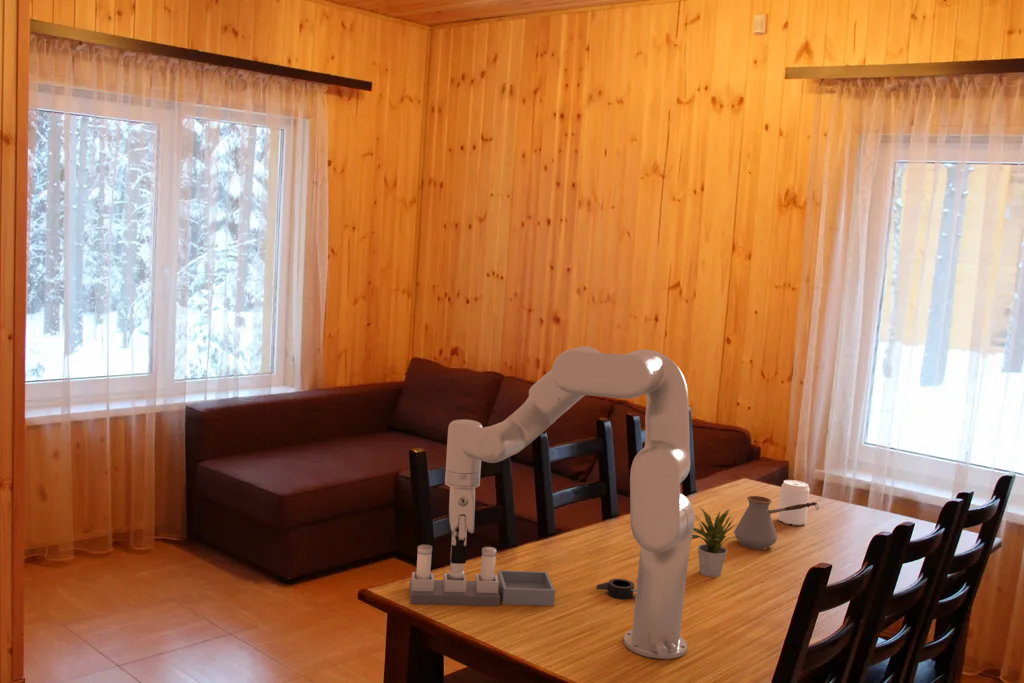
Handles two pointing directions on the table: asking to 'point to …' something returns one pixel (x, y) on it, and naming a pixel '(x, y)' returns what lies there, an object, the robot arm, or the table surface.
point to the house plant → (712, 544)
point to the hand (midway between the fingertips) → (457, 559)
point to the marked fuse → (456, 568)
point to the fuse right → (488, 564)
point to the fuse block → (454, 591)
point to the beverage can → (793, 502)
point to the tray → (525, 588)
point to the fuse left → (423, 562)
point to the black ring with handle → (618, 588)
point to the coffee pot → (760, 523)
